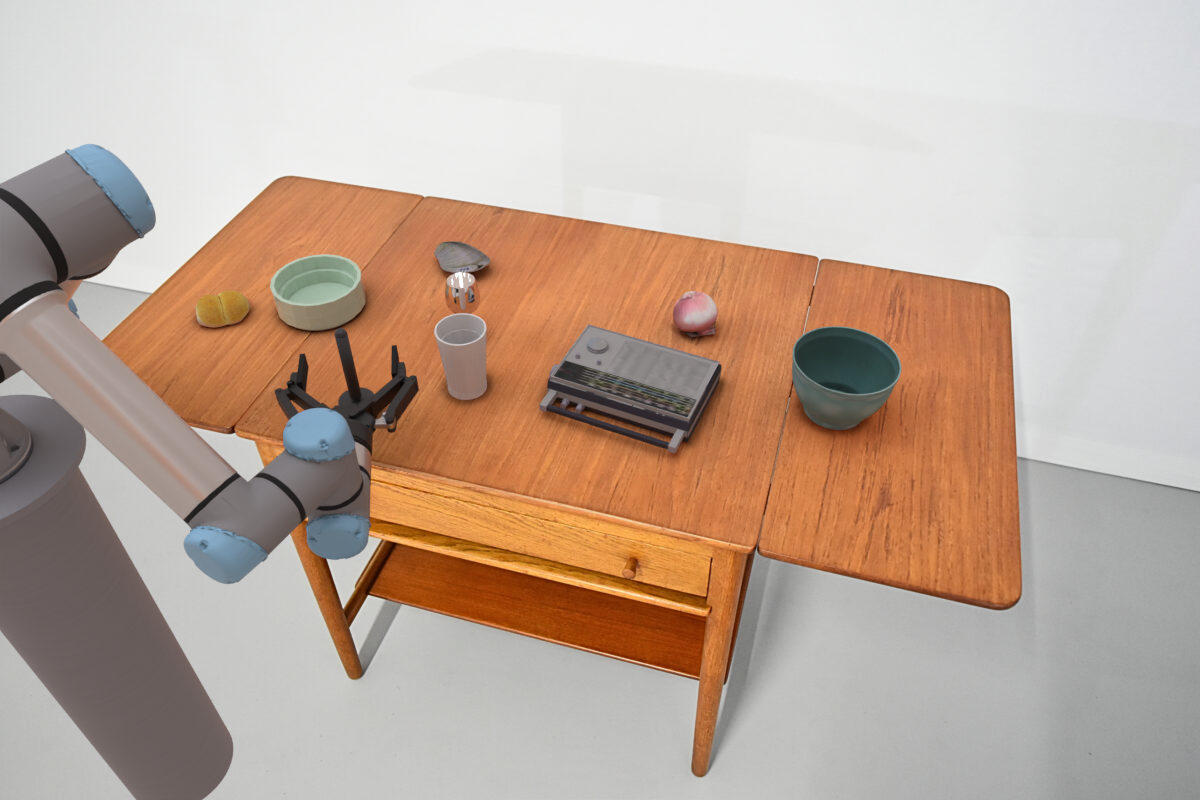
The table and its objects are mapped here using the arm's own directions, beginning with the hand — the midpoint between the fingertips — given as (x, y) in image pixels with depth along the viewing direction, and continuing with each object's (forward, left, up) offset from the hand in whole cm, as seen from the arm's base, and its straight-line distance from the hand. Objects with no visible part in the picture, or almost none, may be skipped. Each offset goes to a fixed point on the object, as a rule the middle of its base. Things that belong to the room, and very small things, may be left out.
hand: (350, 356), depth 137 cm
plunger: (-2, -2, -9) cm, 10 cm away
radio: (+31, -29, -10) cm, 44 cm away
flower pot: (+52, -54, -10) cm, 76 cm away
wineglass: (+22, +1, -10) cm, 24 cm away
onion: (+52, -25, -10) cm, 59 cm away
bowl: (+9, +26, -9) cm, 29 cm away
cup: (+14, -9, -10) cm, 20 cm away
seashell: (+34, +18, -10) cm, 40 cm away
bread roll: (-5, +36, -10) cm, 37 cm away
